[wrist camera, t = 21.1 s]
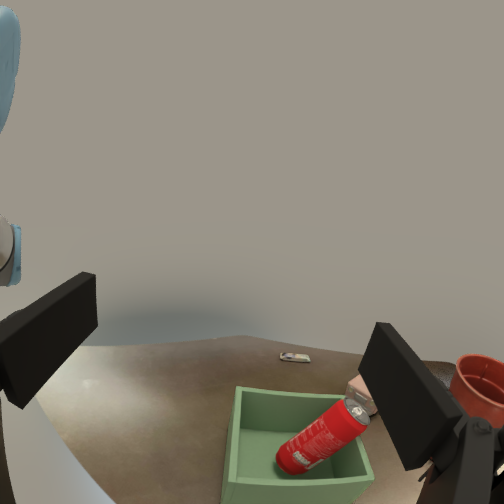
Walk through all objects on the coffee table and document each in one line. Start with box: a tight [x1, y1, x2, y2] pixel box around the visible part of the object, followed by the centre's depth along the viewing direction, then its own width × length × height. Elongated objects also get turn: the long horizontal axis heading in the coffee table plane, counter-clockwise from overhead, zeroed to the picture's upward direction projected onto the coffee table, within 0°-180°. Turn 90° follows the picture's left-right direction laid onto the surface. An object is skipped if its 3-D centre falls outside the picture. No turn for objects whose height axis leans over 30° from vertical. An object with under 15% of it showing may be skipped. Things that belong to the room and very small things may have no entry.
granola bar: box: [280, 353, 311, 362], centre depth 59 cm, size 7×2×1 cm, turn 90°
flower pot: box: [430, 354, 504, 459], centre depth 29 cm, size 16×16×16 cm
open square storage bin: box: [220, 386, 375, 504], centre depth 29 cm, size 16×16×9 cm
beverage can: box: [275, 397, 370, 475], centre depth 29 cm, size 5×5×12 cm
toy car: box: [345, 375, 378, 416], centre depth 47 cm, size 9×15×10 cm, turn 128°
